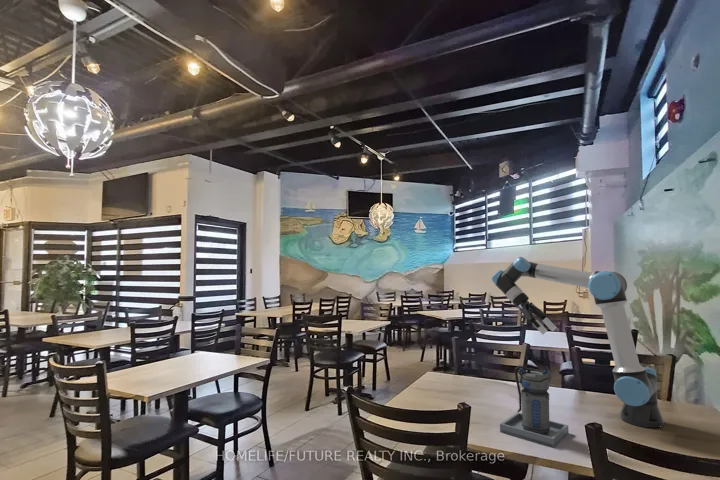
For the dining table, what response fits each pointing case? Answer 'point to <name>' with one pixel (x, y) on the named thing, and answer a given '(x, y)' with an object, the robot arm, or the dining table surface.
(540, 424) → the beverage bottle
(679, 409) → the dining table surface
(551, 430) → the tray
